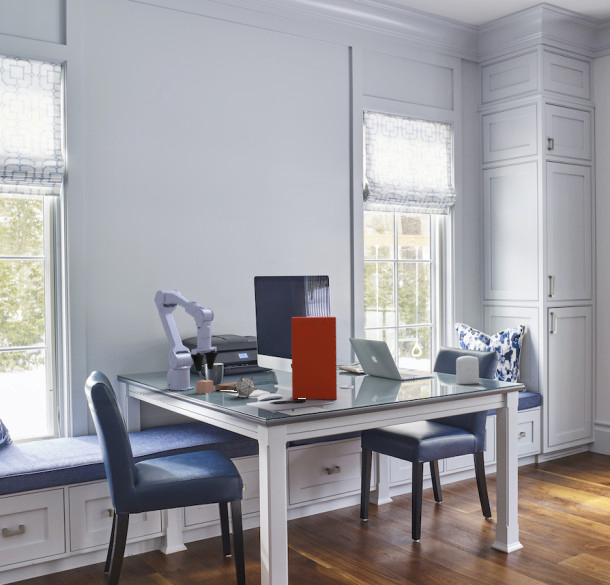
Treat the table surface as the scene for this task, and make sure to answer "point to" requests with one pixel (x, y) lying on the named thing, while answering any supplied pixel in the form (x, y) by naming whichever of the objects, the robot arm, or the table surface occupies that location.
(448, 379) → the table surface
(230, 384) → the plinth
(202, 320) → the robot arm
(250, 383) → the game die
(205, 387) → the cube
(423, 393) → the table surface
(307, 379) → the file binder
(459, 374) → the grey smart speaker
